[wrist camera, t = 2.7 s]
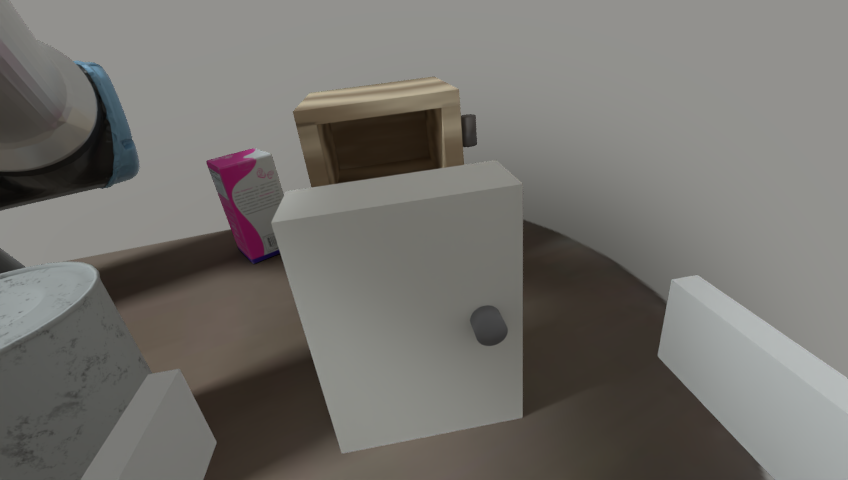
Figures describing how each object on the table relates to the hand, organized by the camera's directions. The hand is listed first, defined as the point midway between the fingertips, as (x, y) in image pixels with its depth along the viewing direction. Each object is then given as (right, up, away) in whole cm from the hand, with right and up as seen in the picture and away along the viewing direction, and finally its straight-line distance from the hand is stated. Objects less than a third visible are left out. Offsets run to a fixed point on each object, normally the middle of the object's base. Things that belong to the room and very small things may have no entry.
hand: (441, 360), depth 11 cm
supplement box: (-19, +2, +39) cm, 44 cm away
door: (0, -8, +15) cm, 17 cm away
